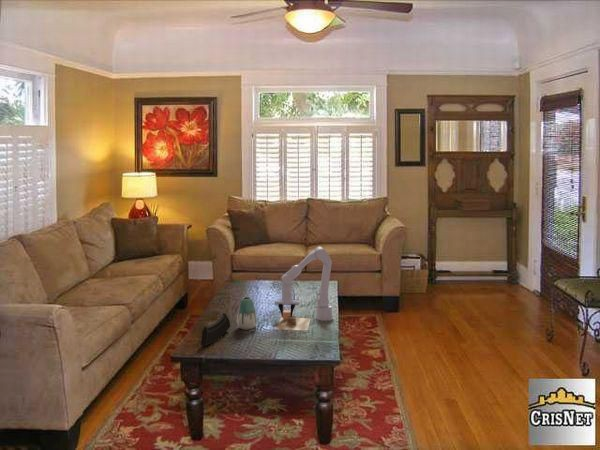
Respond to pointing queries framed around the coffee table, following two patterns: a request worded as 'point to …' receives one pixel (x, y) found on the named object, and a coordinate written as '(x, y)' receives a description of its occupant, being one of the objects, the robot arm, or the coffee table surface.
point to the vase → (246, 314)
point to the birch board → (300, 325)
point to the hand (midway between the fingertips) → (286, 316)
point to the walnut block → (291, 320)
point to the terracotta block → (286, 313)
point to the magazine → (215, 330)
